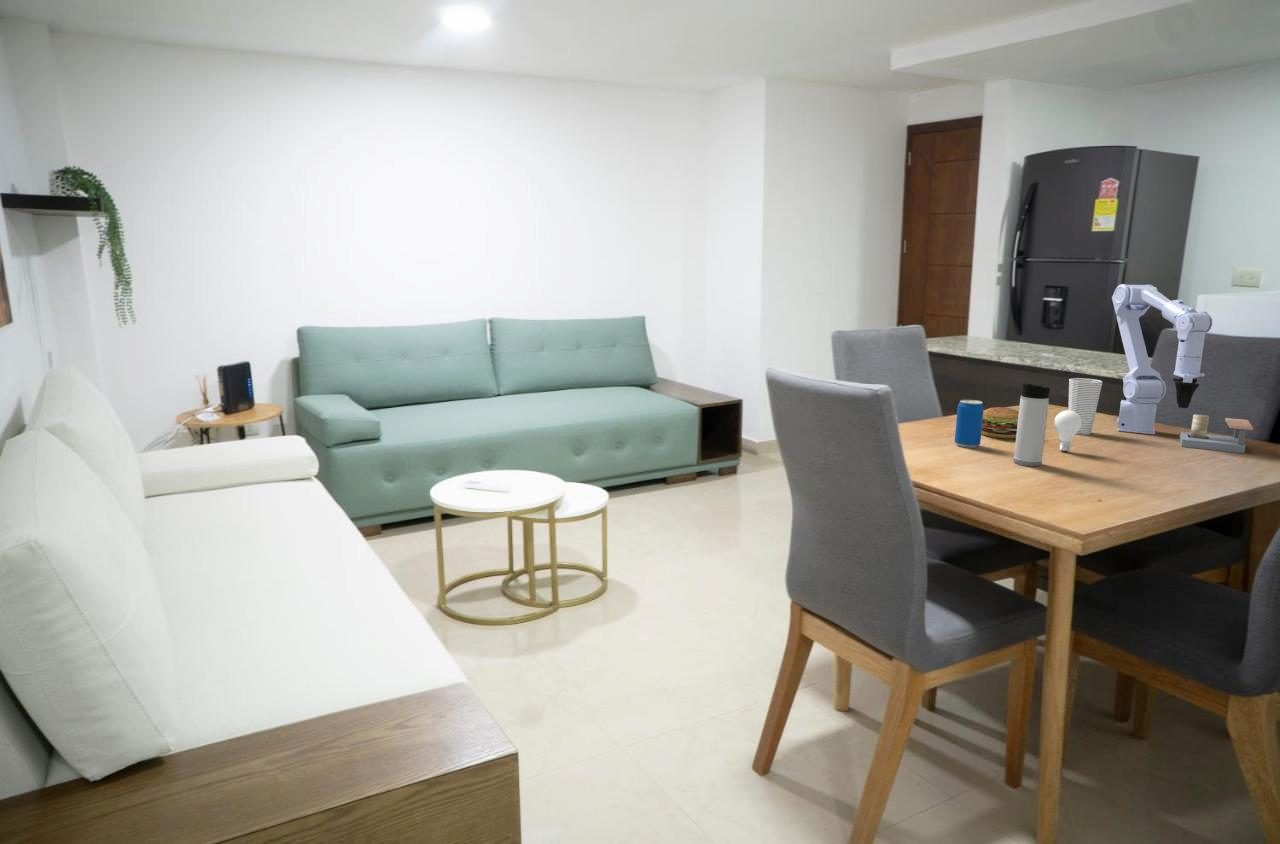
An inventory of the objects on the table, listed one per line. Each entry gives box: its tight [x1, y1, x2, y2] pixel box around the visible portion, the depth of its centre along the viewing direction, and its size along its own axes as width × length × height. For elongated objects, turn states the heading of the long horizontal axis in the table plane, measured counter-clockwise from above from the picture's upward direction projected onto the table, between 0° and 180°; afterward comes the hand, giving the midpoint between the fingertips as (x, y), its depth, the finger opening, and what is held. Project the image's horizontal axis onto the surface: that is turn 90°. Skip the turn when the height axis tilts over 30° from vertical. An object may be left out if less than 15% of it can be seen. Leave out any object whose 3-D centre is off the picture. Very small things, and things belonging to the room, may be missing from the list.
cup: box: [1067, 377, 1103, 436], centre depth 241 cm, size 8×8×16 cm
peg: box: [1190, 414, 1210, 439], centre depth 229 cm, size 4×4×8 cm
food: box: [981, 406, 1019, 440], centre depth 236 cm, size 14×14×8 cm
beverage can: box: [954, 399, 985, 449], centre depth 222 cm, size 6×6×12 cm
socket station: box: [1178, 417, 1254, 454], centre depth 227 cm, size 15×13×7 cm
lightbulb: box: [1053, 409, 1082, 453], centre depth 217 cm, size 6×6×11 cm
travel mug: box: [1013, 382, 1051, 467], centre depth 202 cm, size 6×7×20 cm
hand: (1182, 405), depth 229 cm, fingers open, 7 cm apart
